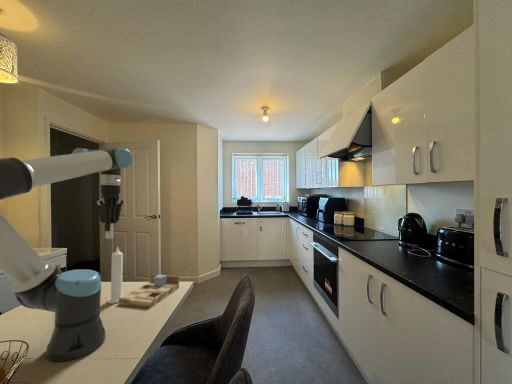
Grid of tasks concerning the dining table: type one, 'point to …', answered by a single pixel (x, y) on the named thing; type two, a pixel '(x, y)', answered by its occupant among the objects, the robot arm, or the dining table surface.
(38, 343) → the dining table surface
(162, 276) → the block
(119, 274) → the candle
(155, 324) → the dining table surface
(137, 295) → the board
